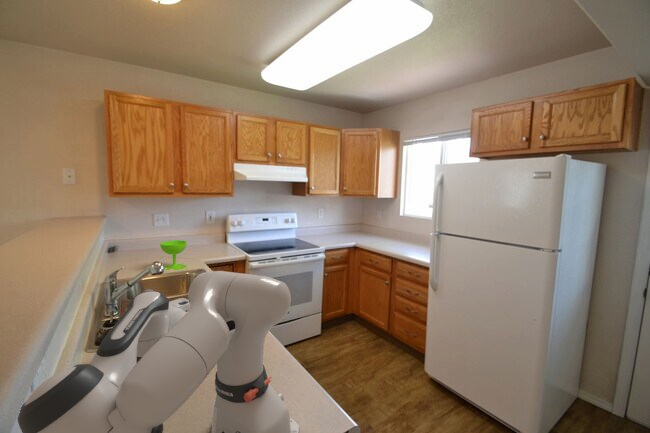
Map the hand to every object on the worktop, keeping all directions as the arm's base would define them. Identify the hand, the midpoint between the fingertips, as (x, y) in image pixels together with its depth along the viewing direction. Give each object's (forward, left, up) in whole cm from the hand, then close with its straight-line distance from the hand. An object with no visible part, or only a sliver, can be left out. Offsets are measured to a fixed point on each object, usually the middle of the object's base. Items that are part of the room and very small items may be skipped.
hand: (147, 307), depth 104 cm
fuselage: (-1, 0, -7) cm, 8 cm away
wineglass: (+86, -59, -16) cm, 105 cm away
